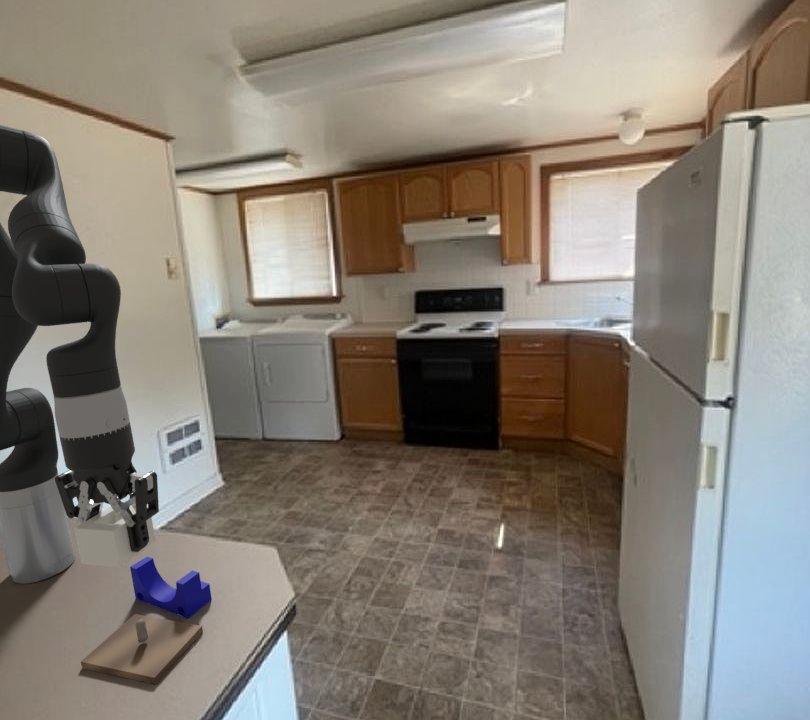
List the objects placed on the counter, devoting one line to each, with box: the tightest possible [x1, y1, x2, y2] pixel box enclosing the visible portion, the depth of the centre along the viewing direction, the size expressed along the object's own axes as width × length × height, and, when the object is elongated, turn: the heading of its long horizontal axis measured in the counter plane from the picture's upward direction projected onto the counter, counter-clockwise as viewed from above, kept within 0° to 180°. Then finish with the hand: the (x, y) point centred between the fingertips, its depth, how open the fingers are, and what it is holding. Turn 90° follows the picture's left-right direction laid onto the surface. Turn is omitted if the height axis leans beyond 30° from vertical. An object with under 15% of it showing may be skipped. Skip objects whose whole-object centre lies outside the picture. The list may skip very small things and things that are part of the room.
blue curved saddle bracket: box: [129, 556, 212, 619], centre depth 75 cm, size 12×4×6 cm, turn 65°
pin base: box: [80, 613, 203, 685], centre depth 65 cm, size 12×9×5 cm
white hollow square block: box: [73, 506, 157, 569], centre depth 61 cm, size 6×6×5 cm
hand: (119, 546), depth 62 cm, fingers closed on white hollow square block, 6 cm apart
